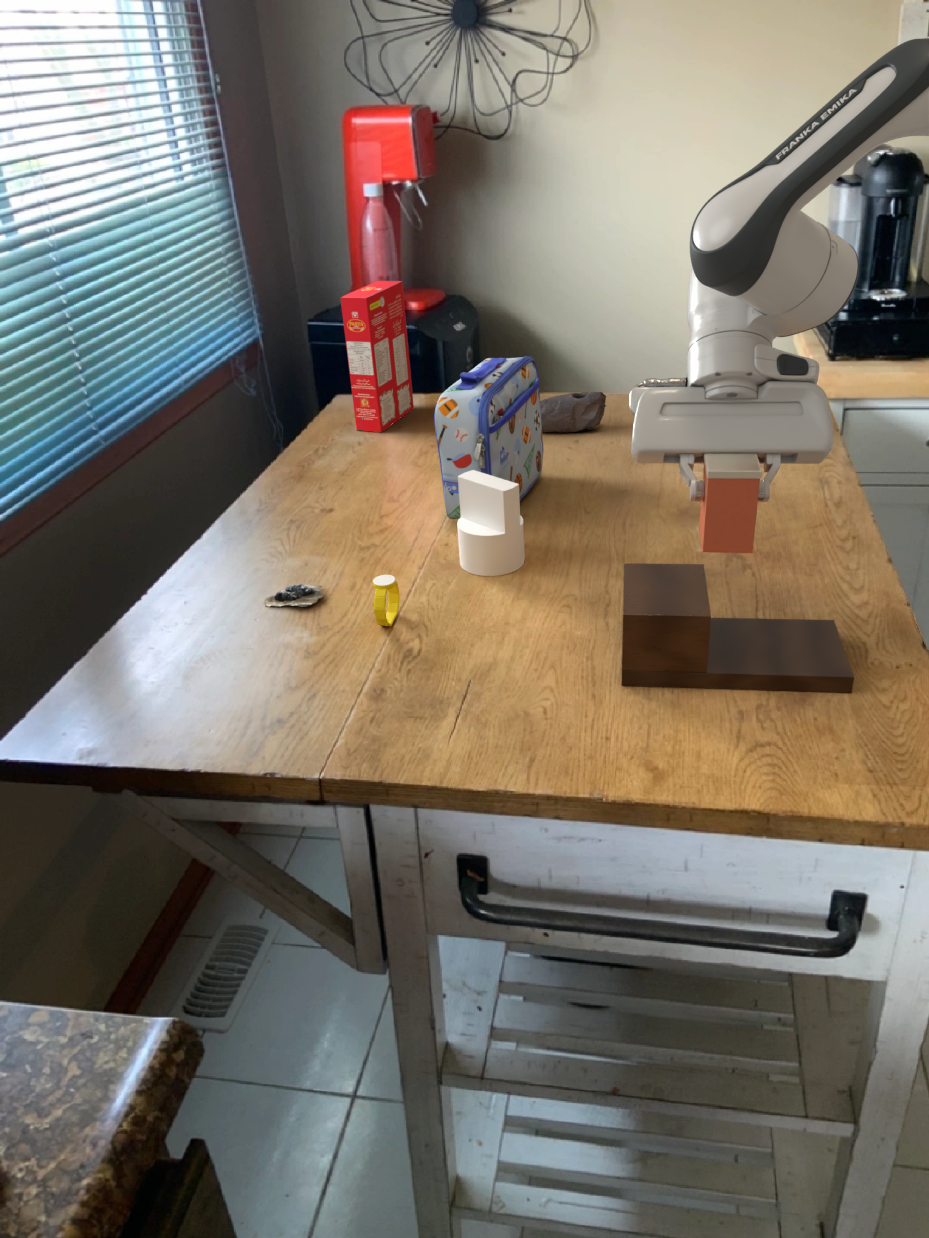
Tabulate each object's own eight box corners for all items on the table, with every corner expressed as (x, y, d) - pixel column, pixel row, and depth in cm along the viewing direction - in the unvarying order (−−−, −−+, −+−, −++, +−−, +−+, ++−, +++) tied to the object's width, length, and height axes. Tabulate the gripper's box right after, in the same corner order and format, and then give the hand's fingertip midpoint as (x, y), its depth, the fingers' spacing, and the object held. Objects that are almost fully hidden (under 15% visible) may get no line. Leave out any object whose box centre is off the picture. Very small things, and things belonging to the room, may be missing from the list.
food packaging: (390, 407, 199) (377, 280, 186) (413, 409, 197) (402, 281, 185) (356, 430, 187) (340, 297, 175) (380, 432, 185) (366, 298, 173)
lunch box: (501, 540, 140) (493, 391, 129) (434, 534, 143) (421, 388, 132) (550, 472, 162) (548, 339, 151) (491, 468, 166) (485, 338, 155)
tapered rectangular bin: (747, 528, 105) (755, 449, 100) (753, 553, 99) (762, 471, 95) (698, 527, 105) (703, 449, 101) (701, 553, 100) (707, 471, 96)
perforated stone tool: (525, 437, 178) (524, 400, 174) (525, 428, 182) (524, 392, 179) (607, 434, 177) (608, 396, 173) (605, 424, 181) (605, 388, 178)
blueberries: (324, 608, 126) (322, 595, 125) (262, 615, 125) (259, 602, 124) (323, 584, 132) (321, 572, 131) (264, 591, 131) (262, 579, 130)
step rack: (831, 634, 112) (841, 565, 108) (851, 692, 102) (863, 619, 98) (622, 630, 116) (623, 563, 112) (621, 685, 106) (622, 614, 102)
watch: (385, 608, 125) (381, 567, 122) (406, 610, 124) (402, 568, 121) (371, 632, 120) (365, 589, 117) (392, 633, 119) (387, 591, 116)
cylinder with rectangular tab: (538, 558, 134) (535, 477, 128) (493, 582, 129) (488, 499, 123) (491, 541, 140) (487, 463, 134) (446, 563, 135) (440, 482, 129)
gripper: (630, 364, 101) (627, 487, 98) (835, 361, 98) (839, 488, 95) (629, 393, 107) (626, 510, 104) (822, 391, 104) (825, 512, 101)
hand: (729, 500), depth 99 cm, fingers closed on tapered rectangular bin, 5 cm apart
